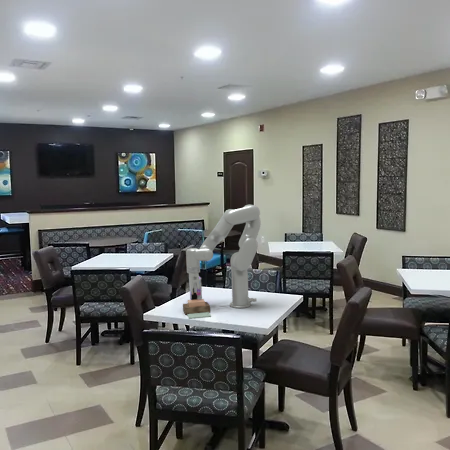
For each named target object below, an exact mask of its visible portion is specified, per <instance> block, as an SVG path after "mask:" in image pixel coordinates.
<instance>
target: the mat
mask: <svg viewBox="0 0 450 450" xmlns="http://www.w3.org/2000/svg"><path fill="white" fill-rule="evenodd" d="M186 316H187V317H188V319H189V320H190V319H201V318H202V319H203V318H211V317H212V315H211V313H209V312H205V313H194V314H187V315H186Z"/></svg>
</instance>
